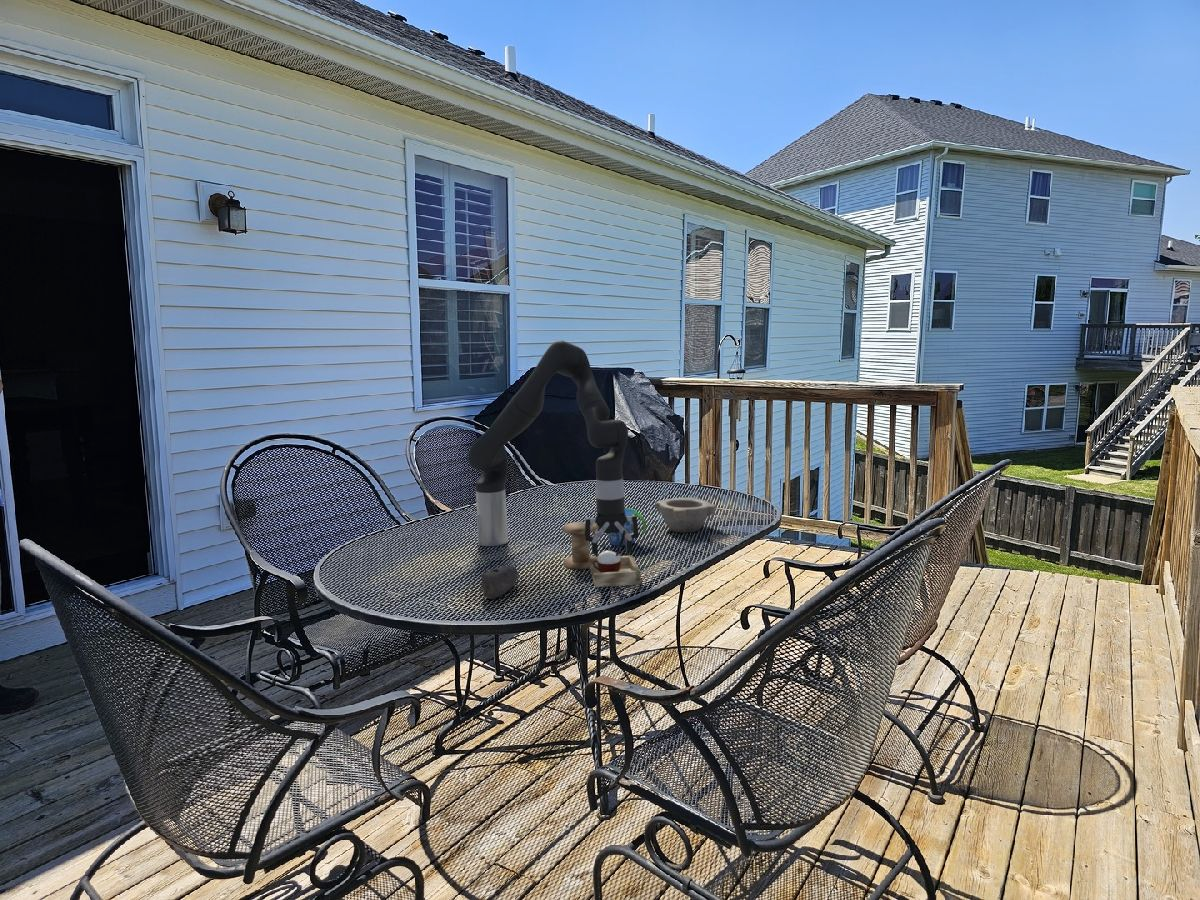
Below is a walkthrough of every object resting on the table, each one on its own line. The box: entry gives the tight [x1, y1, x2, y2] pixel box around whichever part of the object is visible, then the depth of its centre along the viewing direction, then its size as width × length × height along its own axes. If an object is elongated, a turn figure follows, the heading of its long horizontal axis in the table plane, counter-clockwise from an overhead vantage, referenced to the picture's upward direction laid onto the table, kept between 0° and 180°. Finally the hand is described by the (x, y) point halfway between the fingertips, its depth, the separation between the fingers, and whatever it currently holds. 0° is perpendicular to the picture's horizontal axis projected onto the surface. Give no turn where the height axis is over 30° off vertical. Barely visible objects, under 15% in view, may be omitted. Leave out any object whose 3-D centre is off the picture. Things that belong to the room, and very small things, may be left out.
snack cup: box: [597, 507, 647, 547], centre depth 228 cm, size 16×10×10 cm
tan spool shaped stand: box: [561, 521, 598, 570], centre depth 209 cm, size 10×10×11 cm
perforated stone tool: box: [480, 565, 519, 600], centre depth 187 cm, size 15×5×7 cm, turn 153°
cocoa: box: [593, 531, 626, 573], centre depth 196 cm, size 10×6×12 cm, turn 50°
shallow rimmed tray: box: [589, 555, 642, 588], centre depth 197 cm, size 12×15×3 cm
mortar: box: [654, 496, 718, 533], centre depth 242 cm, size 17×17×9 cm
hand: (612, 554), depth 196 cm, fingers open, 8 cm apart
